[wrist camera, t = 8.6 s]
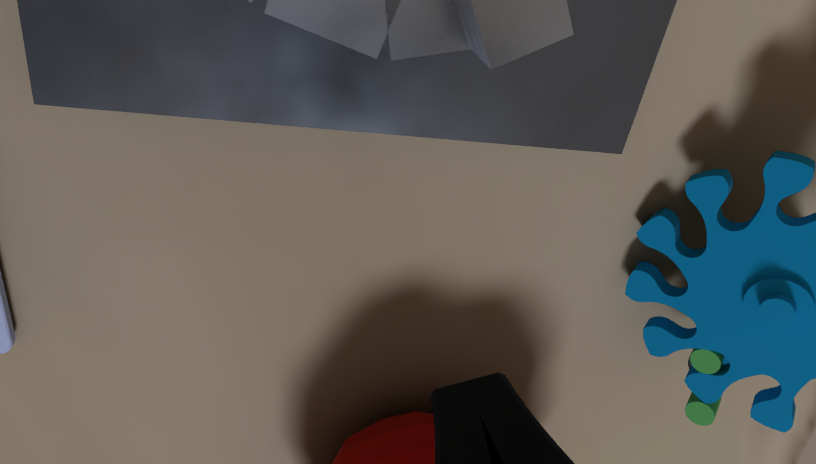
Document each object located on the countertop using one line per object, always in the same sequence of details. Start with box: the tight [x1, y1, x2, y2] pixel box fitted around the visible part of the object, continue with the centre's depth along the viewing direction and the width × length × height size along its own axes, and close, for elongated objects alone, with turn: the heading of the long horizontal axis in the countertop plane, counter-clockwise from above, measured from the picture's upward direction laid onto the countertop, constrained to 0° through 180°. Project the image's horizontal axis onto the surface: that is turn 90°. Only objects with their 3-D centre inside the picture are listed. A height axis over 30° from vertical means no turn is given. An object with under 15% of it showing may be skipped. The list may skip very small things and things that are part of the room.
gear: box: [625, 151, 816, 432], centre depth 22 cm, size 11×6×10 cm
